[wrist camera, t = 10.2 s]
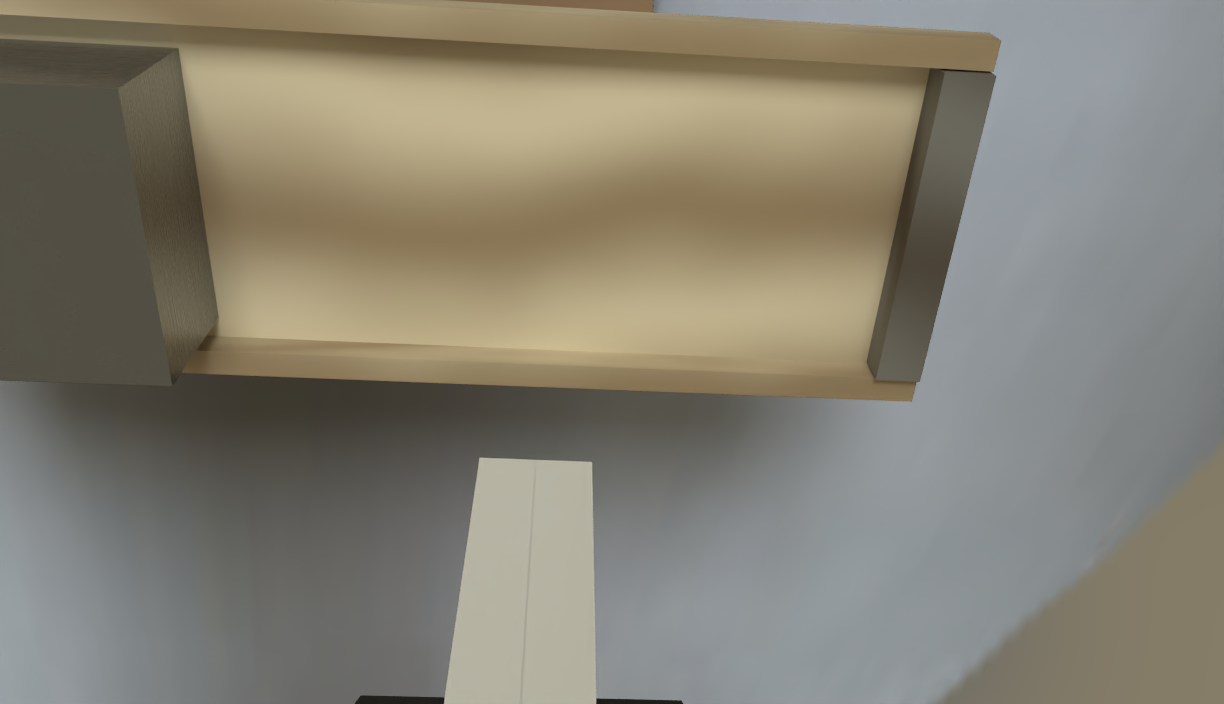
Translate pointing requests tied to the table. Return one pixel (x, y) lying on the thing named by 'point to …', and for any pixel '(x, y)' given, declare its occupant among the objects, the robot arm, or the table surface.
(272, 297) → the seesaw beam
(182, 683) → the table surface
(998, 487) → the table surface
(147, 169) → the iron block
